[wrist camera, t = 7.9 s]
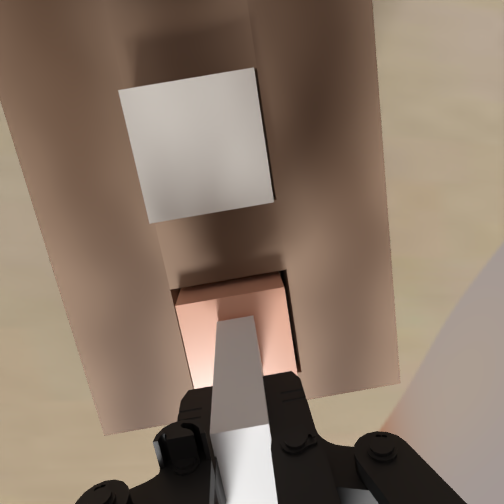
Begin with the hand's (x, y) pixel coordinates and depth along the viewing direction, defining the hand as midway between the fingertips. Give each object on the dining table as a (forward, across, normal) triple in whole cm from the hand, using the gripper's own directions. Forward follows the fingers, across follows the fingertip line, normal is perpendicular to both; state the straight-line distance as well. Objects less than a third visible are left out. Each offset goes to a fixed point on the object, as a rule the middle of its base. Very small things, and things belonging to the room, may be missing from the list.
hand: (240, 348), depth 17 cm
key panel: (+7, 0, -8) cm, 11 cm away
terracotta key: (+3, 0, 0) cm, 3 cm away
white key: (+2, 0, -8) cm, 8 cm away
